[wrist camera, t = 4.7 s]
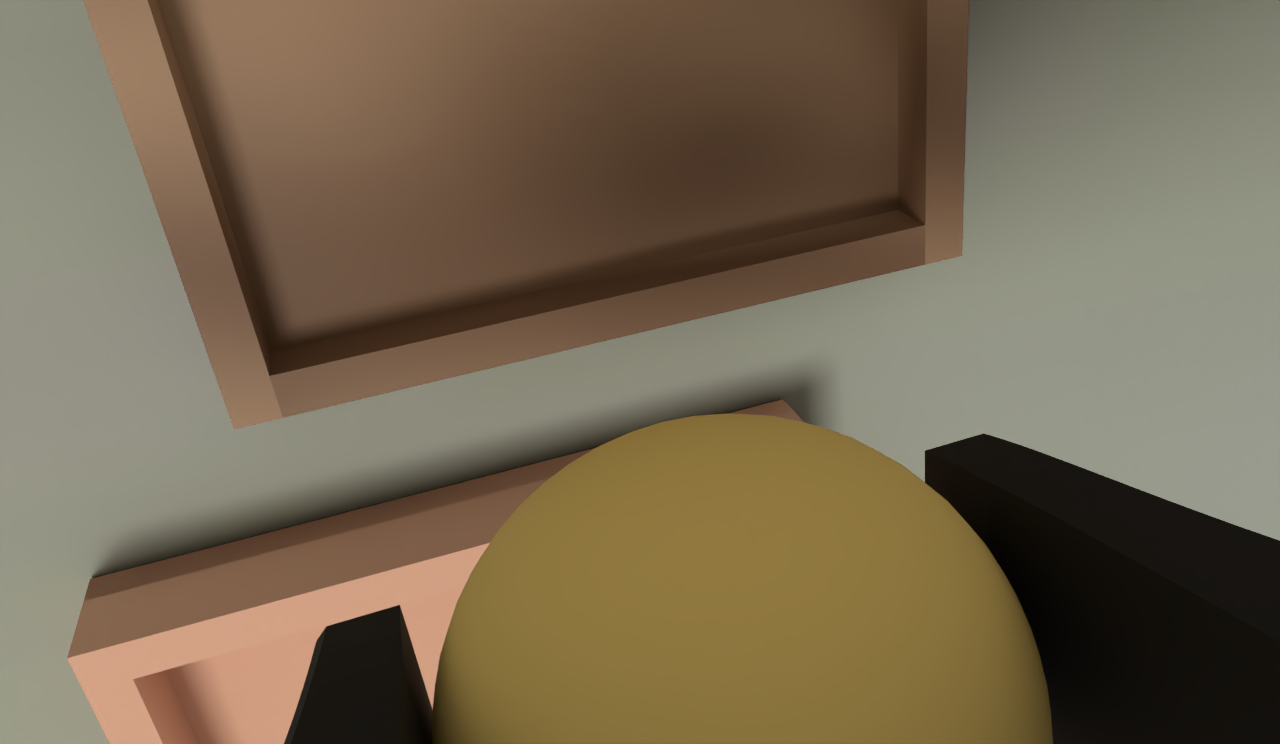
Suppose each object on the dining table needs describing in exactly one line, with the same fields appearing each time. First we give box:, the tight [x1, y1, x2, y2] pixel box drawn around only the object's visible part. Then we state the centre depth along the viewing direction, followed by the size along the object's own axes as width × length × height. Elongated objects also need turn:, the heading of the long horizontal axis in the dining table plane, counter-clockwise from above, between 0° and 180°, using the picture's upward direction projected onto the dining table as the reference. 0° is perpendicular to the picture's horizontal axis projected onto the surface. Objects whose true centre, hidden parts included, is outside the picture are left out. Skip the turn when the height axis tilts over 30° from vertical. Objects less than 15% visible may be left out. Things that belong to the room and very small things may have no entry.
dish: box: [67, 399, 804, 744], centre depth 20 cm, size 10×12×2 cm
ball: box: [432, 414, 1053, 744], centre depth 8 cm, size 5×5×5 cm
